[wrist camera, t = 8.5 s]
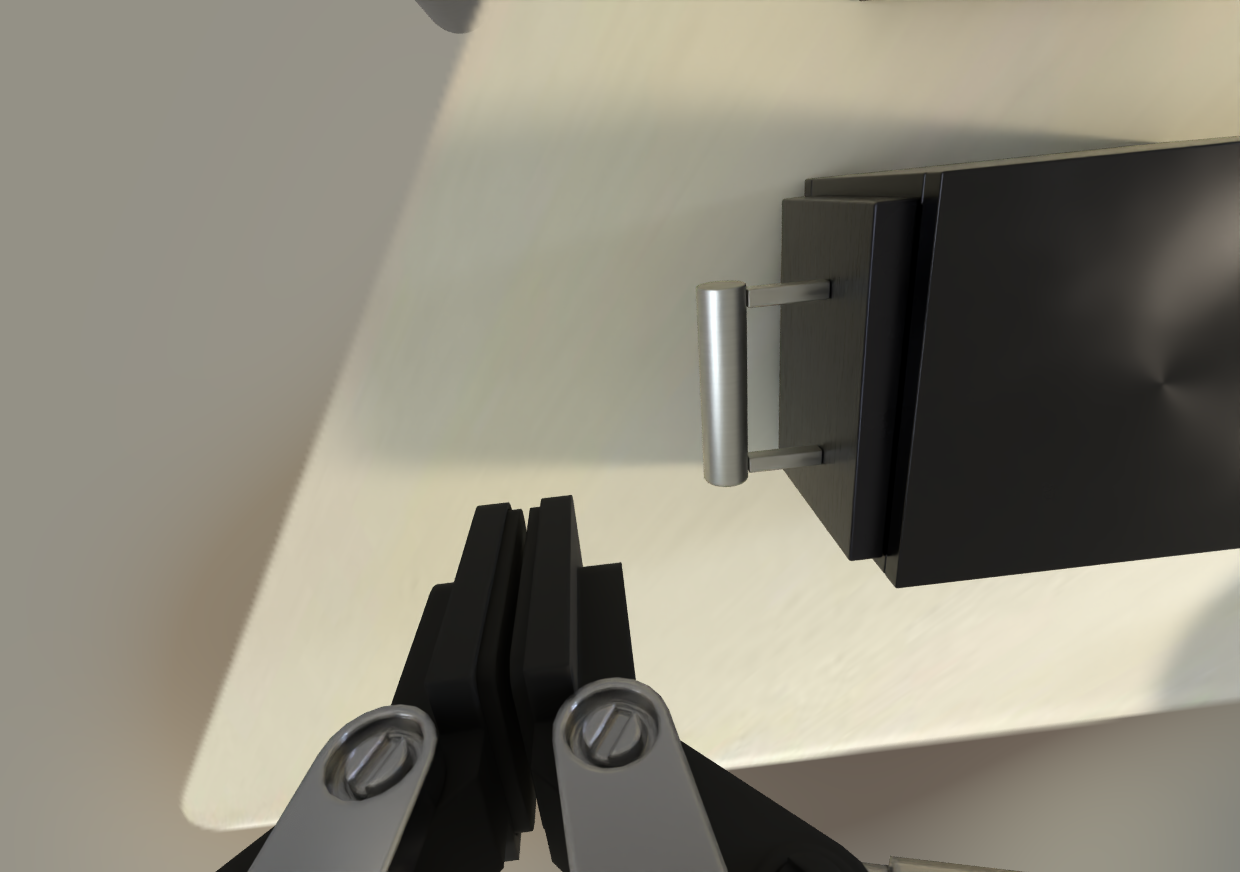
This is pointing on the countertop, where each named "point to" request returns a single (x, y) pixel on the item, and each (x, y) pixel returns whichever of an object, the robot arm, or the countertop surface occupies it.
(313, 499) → the countertop surface
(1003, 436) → the cabinet
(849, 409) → the drawer
